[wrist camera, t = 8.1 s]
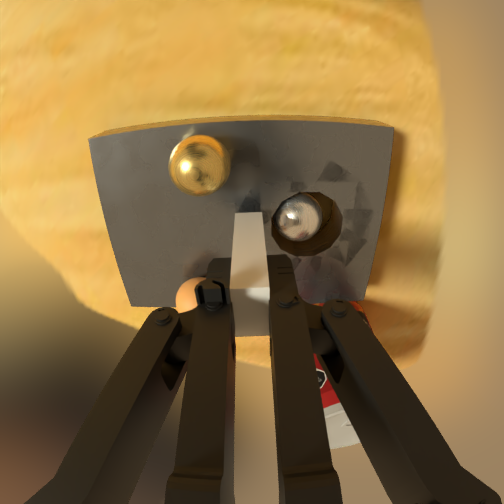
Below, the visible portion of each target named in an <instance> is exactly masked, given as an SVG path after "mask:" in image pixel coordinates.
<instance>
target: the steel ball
mask: <svg viewBox="0 0 504 504" xmlns="http://www.w3.org/2000/svg"><path fill="white" fill-rule="evenodd" d="M322 217H323V215H322V210H321V207H320V205H319V203H318V202H317V200H316V199H315V198H314V197H312V196H311V195H309V194H307V193H304V192H299V193H297V194H295V195H293V196H291V197H289V198H288V199H286V200H284V201H282V202H281V204H280V205H279V207H278V208H277V210H276V211H275V213H274V215H273V222H274V225H275V228H276V229H277V231H278V232H279V233H280V234H281V235H282V236H283V237H285V238H286V239H288V240H291V241H304V240H307V239H309V238H311V237H313V236H314V235H315V234H316V233H317V232H318V230H319V228H320V226H321V224H322Z"/></svg>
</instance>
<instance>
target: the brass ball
mask: <svg viewBox="0 0 504 504" xmlns="http://www.w3.org/2000/svg"><path fill="white" fill-rule="evenodd" d="M168 170H169V175H170V178H171V180H172V182H173V183H174V185H175V186H176V187H177V188H178V189H179V190H180V191H182V192H183V193H185V194H188V195H191V196H196V197H201V196H207V195H210V194H213V193H215V192H216V191H218V190H219V189H220V188H221V187H222V186H223V185H224V184H225V183H226V181H227V179H228V177H229V174H230V171H231V159H230V155H229V153H228V151H227V149H226V147H225V146H224V145H223V144H222V143H221V142H220V141H219V140H217V139H215V138H214V137H211V136H208V135H193V136H190V137H187V138H185V139H184V140H182V141H181V142H179V143H178V144H177V145H176V146H175V148H174V149H173V151H172V153H171V155H170V158H169V163H168Z"/></svg>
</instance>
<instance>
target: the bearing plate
mask: <svg viewBox="0 0 504 504" xmlns="http://www.w3.org/2000/svg"><path fill="white" fill-rule="evenodd" d="M393 134H394V127H391V126H389V125H387V124H384V123H382V122H379V121H374V120H364V119H353V118H341V117H325V116H301V115H249V116H224V117H209V118H196V119H185V120H175V121H166V122H158V123H151V124H144V125H137V126H131V127H124V128H119V129H113V130H108V131H104V132H102V133H100V134H98V135H95V136H93V137H91V138H89V139H88V140H89V146H90V152H91V158H92V163H93V168H94V174H95V178H96V183H97V188H98V193H99V197H100V201H101V206H102V210H103V214H104V218H105V222H106V226H107V230H108V233H109V237H110V241H111V244H112V248H113V251H114V255H115V258H116V261H117V264H118V268H119V271H120V274H121V277H122V280H123V283H124V286H125V289H126V292H127V295H128V298H129V301H130V304H131V306H133V307H176V295H177V292H178V290H179V288H180V287H181V285H182V284H183V283H184V282H186V281H187V280H189V279H192V278H196V277H204V278H206V275H207V269H208V264H209V263H210V262H211V261H212V260H213V258H228V257H232V248H233V234H234V221H235V213H250V212H262V217H263V227H264V237H265V247H266V255H277V254H286V255H287V256H288V257H289V258H290V259H291V260H292V265H293V269H294V274H295V279H296V284H297V288H298V293H299V295H300V296H301V298H302V299H303V300H304V301H305V302H307V303H309V304H317V303H325V302H326V301H329V300H331V299H343V300H346V301H361V300H364V296H365V292H366V288H367V284H368V280H369V276H370V272H371V268H372V264H373V259H374V255H375V250H376V245H377V240H378V236H379V230H380V225H381V220H382V214H383V209H384V203H385V197H386V190H387V184H388V177H389V169H390V161H391V153H392V144H393ZM193 135H208V136H211V137H214V138H215V139H217V140H219V141H220V142H221V143H222V144H223V145H224V146H225V147H226V149H227V151H228V153H229V155H230V159H231V171H230V174H229V177H228V179H227V181H226V183H225V184H224V185H223V186H222V187H221V188H220V189H219V190H218V191H216V192H215V193H213V194H210V195H207V196H201V197H196V196H191V195H188V194H185V193H183V192H182V191H180V190H179V189H178V188H177V187H176V186H175V185H174V183H173V182H172V180H171V178H170V175H169V170H168V163H169V158H170V155H171V153H172V151H173V149H174V148H175V146H176V145H177V144H178V143H179V142H181V141H182V140H184V139H185V138H187V137H190V136H193ZM299 192H320V193H322V194H324V195H325V196H327V197H329V198H331V199H332V200H333V207H332V217H331V218H330V220H329V221H328V222H327V224H326V225H325V226H324V228H323V229H322V230H321V231H319V232H317V233H316V234H315V235H314V236H313V237H311V238H309V239H307V240H304V241H291V240H288V239H286V238H285V237H283V236H282V235H281V234H280V233H279V232H278V231H277V230H276V228H275V227H274V225H273V224H272V222H271V218H272V216H273V215H274V213H275V211H276V210H277V208H278V207H279V205H280V204H281V202H282V201H284V200H286V199H288V198H289V197H291V196H293V195H295V194H297V193H299Z"/></svg>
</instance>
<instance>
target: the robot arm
mask: <svg viewBox="0 0 504 504" xmlns="http://www.w3.org/2000/svg"><path fill="white" fill-rule="evenodd" d="M194 291H195V296H196V301H197V307H195V308H194V309H192V310H189V311H186V312H182V313H178V312H177V311H176V310H175V309H174V308H171V307H162V308H158V309H156V310H154V311H152V313H151V314H150V315H149V316H148V317H147V319H146V320H145V322H144V324H143V325H142V327H141V328H140V330H139V332H138V333H137V335H136V336H135V338H134V339H133V341H132V343H131V344H130V346H129V347H128V349H127V351H126V352H125V354H124V355H123V357H122V358H121V360H120V362H119V363H118V365H117V367H116V368H115V370H114V372H113V373H112V375H111V376H110V378H109V380H108V382H107V383H106V385H105V387H104V388H103V390H102V392H101V394H100V395H99V397H98V399H97V400H96V402H95V404H94V405H93V407H92V409H91V411H90V412H89V414H88V416H87V418H86V419H85V421H84V423H83V425H82V426H81V428H80V430H79V432H78V433H77V435H76V437H75V439H74V441H73V443H72V444H71V447H70V448H69V450H68V452H67V454H66V456H65V457H64V459H63V461H62V463H61V465H60V467H59V469H58V471H57V473H56V475H55V477H54V478H53V479H52V480H51V481H49V482H48V483H47V484H46V485H45V486H44V487H43V488H42V489H40V490H39V491H38V492H37V493H36V494H35V495H33V496H32V497H31V498H30V499H29V500H28V501H27V502H25V503H24V504H128V502H129V500H130V498H131V496H132V493H133V491H134V489H135V487H136V484H137V482H138V480H139V477H140V475H141V473H142V470H143V468H144V466H145V464H146V461H147V459H148V456H149V454H150V452H151V450H152V447H153V445H154V443H155V441H156V439H157V436H158V434H159V432H160V430H161V427H162V425H163V423H164V421H165V418H166V416H167V414H168V412H169V409H170V407H171V405H172V402H173V400H174V398H175V396H176V394H177V391H178V389H179V387H180V385H181V382H182V380H183V378H184V376H185V373H186V371H187V374H186V380H185V387H184V395H183V402H182V409H181V417H180V425H179V434H178V442H177V451H176V459H175V467H174V471H173V473H172V474H171V475H170V476H169V478H168V481H167V485H166V494H165V504H235V498H234V414H235V412H234V411H235V363H236V344H235V337H242V336H266V335H270V356H271V369H272V383H273V399H274V413H275V429H276V447H277V463H278V481H279V504H343V502H342V494H341V487H340V482H339V477H338V474H337V472H336V471H335V470H334V468H333V465H332V459H331V452H330V446H329V439H328V433H327V427H326V421H325V415H324V409H323V403H322V397H321V392H320V386H319V381H318V375H317V370H316V364H315V359H314V354H316V357H317V359H318V361H319V363H320V364H321V366H322V368H323V370H324V372H325V374H326V376H327V378H328V380H329V382H330V384H331V386H332V388H333V389H334V391H335V393H336V395H337V397H338V399H339V401H340V403H341V405H342V407H343V409H344V411H345V413H346V415H347V417H348V418H349V420H350V422H351V424H352V426H353V428H354V430H355V432H356V434H357V436H358V438H359V440H360V442H361V444H362V446H363V448H364V450H365V452H366V453H367V456H368V457H369V459H370V461H371V463H372V465H373V467H374V469H375V471H376V473H377V475H378V477H379V479H380V481H381V483H382V485H383V487H384V489H385V491H386V493H387V495H388V497H389V498H390V500H391V501H392V503H393V504H502V503H501V498H500V496H499V495H498V494H497V493H496V492H495V491H494V490H492V489H491V488H490V487H488V486H487V485H486V484H484V483H483V482H481V481H480V480H479V479H477V478H476V477H475V476H473V475H472V474H471V473H469V472H468V471H467V470H465V469H464V468H463V467H461V466H460V464H459V462H458V461H457V459H456V457H455V456H454V454H453V452H452V451H451V449H450V448H449V446H448V444H447V443H446V441H445V440H444V438H443V436H442V435H441V433H440V432H439V430H438V428H437V427H436V425H435V424H434V422H433V420H432V419H431V417H430V416H429V414H428V413H427V411H426V410H425V408H424V407H423V405H422V403H421V402H420V401H419V399H418V397H417V396H416V394H415V393H414V392H413V390H412V389H411V387H410V385H409V384H408V382H407V381H406V380H405V378H404V377H403V375H402V374H401V372H400V371H399V369H398V368H397V366H396V365H395V363H394V362H393V361H392V359H391V358H390V356H389V355H388V353H387V352H386V351H385V349H384V348H383V346H382V345H381V344H380V342H379V341H378V339H377V338H376V337H375V335H374V334H373V332H372V331H371V330H370V328H369V327H368V325H367V324H366V323H365V321H364V320H363V319H362V317H361V316H360V314H359V313H358V312H357V310H356V309H355V308H354V306H353V305H352V304H351V303H350V302H348V301H346V300H343V299H331V300H329V301H326V302H325V303H324V304H323V306H318V305H313V304H309V303H307V302H305V301H304V300H303V299H302V298H301V296H300V295H299V293H298V288H297V284H296V279H295V274H294V269H293V265H292V260H291V259H290V258H289V257H288V256H287V255H286V254H277V255H266V247H265V237H264V227H263V217H262V212H250V213H235V221H234V234H233V248H232V257H228V258H213V260H212V261H211V262H210V263H209V264H208V269H207V275H206V279H205V280H203V281H201V282H199V283H198V284H197V285H196V287H195V289H194ZM313 353H314V354H313Z"/></svg>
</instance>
